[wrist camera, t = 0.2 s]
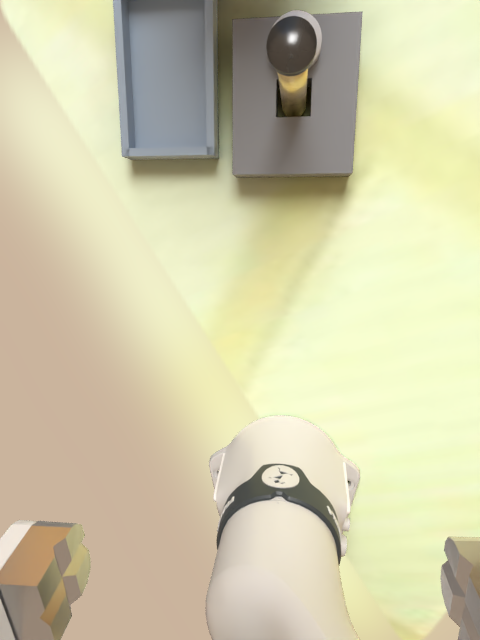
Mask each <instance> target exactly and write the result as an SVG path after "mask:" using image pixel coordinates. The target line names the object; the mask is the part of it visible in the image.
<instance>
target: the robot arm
mask: <svg viewBox="0 0 480 640" xmlns="http://www.w3.org/2000/svg"><path fill="white" fill-rule="evenodd" d="M209 467H210V472H211V476H212V481H213V485H214V489H215V491H214V501H215V502H217V509H218V512H219V516H220V520H219V524H218V530H217V531H218V534H217V550H218V551H217V556H216V559H215V563H214V568H213V572H212V576H211V580H210V584H209V588H208V592H207V597H206V619H207V625H208V629H209V632H210V635H211V638H212V640H360V639H359V637H358V635H357V633H356V631H355V629H354V627H353V625H352V623H351V621H350V618H349V614H348V611H347V607H346V603H345V598H344V593H343V588H342V583H341V578H340V571H339V564H340V559H341V556H342V557H343V556H345V553H346V549H347V537H346V536H345V535H343V534H342V533H343V531H349V527H350V519H349V518H347V517H348V514H349V513H350V508H351V505H352V501H353V498H354V495H355V492H356V489H357V486H358V482H359V479H360V471H359V468H358V467H357V466H356V465H355V464H354V463H353V462H352V461H350V460H349V459H347V458H346V457H344V456H343V455H342V454H341V453H340V452H339V451H338V449H337V448H336V446H335V445H334V443H333V442H332V440H331V439H330V438H329V437H328V436H327V435H326V434H325V433H324V432H323V431H322V430H321V429H320V428H318V427H317V426H315V425H314V424H312V423H310V422H308V421H306V420H303V419H300V418H297V417H292V416H285V415H276V416H269V417H264V418H261V419H258V420H256V421H254V422H252V423H250V424H248V425H247V426H245V427H244V428H243V429H242V430H241V431H240V432H239V433H238V434H237V435H236V437H235V438H234V439H233V440H232V442H231V443H230V444H229V445H228V446H227V447H225V448H223V449H221V450H219V451H217V452H216V453H214V454H213V455H212V456H211V458H210V462H209ZM218 470H219V471H218ZM347 480H348V481H350V482H349V483H348V481H347ZM84 536H85V534H84V531H83V528H82V525H81V524H76V523H60V522H45V521H25V520H18V521H16V522H15V523H13V524H12V525H11V526H10V527H9V529H8V530H7V531H6V533H5V534H4V535H3V536H2V537H1V539H0V640H61V638H62V636H63V633H64V631H65V629H66V627H67V625H68V623H69V621H70V619H71V617H72V613H71V607H70V605H71V604H72V603H73V602H74V601H76V600H77V599H78V598H79V597H80V596H81V595H82V593H83V591H84V589H85V586H86V584H87V581H88V577H89V573H90V554H89V550H88V549H87V548H86V547H85V546H84V545H83V544H82V543H81V542H82V540H83V538H84ZM444 551H445V553H446V556H447V558H448V561H447V562H446V563H444V564H443V565H442V569H441V587H442V594H443V598H444V602H445V606H446V609H447V611H448V614H449V617H450V618H451V619H452V620H453V621H454V622H455V623H456V624H457V625H458V626H459V627H460V631H459V637H458V640H480V537H448V538H447V540H446V542H445V548H444Z"/></svg>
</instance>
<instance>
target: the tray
mask: <svg viewBox="0 0 480 640" xmlns="http://www.w3.org/2000/svg"><path fill="white" fill-rule="evenodd" d="M113 7H114V25H115V42H116V59H117V76H118V93H119V111H120V128H121V145H122V156H123V157H125V158H128V159H131V160H139V159H202V158H219V125H218V0H113Z"/></svg>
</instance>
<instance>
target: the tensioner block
mask: <svg viewBox="0 0 480 640" xmlns="http://www.w3.org/2000/svg"><path fill="white" fill-rule="evenodd" d="M289 16H298V17H302V18H304V19H306V20H307V21H308V22H309V23H310V24H311V25H312V27H313V28H314V30H315V33H316V37H317V48H316V54H315V58H314V60H313V62H312V64H311V65H310V66H309V68H308V76H307V87H311V108H310V116H305V117H277V114H278V89H280V87H279V80H278V73H277V72H276V71H275V70H274V69H273V67H272V66H271V64H270V62H269V59H268V55H267V49H266V44H267V38H268V35H269V33H270V31H271V29H272V28H273V26H274V25H275V24H276V23H277V22H278V21H280V20H281V19H283V18H285V17H289ZM361 27H362V12H347V13H331V14H314V15H311V14H309V13H307V12H305V11H301V10H294V11H290V12H287V13H285V14H284V15H282V16H280V17H264V18H247V19H233V175H234V176H236V177H317V176H350V175H351V174H352V171H353V155H354V139H355V123H356V107H357V91H358V75H359V59H360V43H361Z"/></svg>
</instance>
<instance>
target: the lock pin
mask: <svg viewBox="0 0 480 640" xmlns="http://www.w3.org/2000/svg"><path fill="white" fill-rule="evenodd" d="M316 48H317V37H316V33H315V30H314V28H313V27H312V25H311V24H310V23H309V22H308V21H307V20H306V19H304V18H302V17H298V16H289V17H285V18H283V19H281V20H280V21H278V22H277V23H276V24H275V25H274V26H273V28H272V29H271V31H270V33H269V35H268V38H267V44H266V49H267V55H268V59H269V62H270V64H271V66H272V67H273V69H274V70H275V71H276V72H277V73H278V80H279V87H280V94H281V101H282V108H283V112H284V114H285V115H286V116H287V117H300V116H301V115H302V114H303V113H304V111H305V108H306V93H307V76H308V68H309V66H310V65H311V64H312V62H313V60H314V58H315V54H316Z"/></svg>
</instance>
